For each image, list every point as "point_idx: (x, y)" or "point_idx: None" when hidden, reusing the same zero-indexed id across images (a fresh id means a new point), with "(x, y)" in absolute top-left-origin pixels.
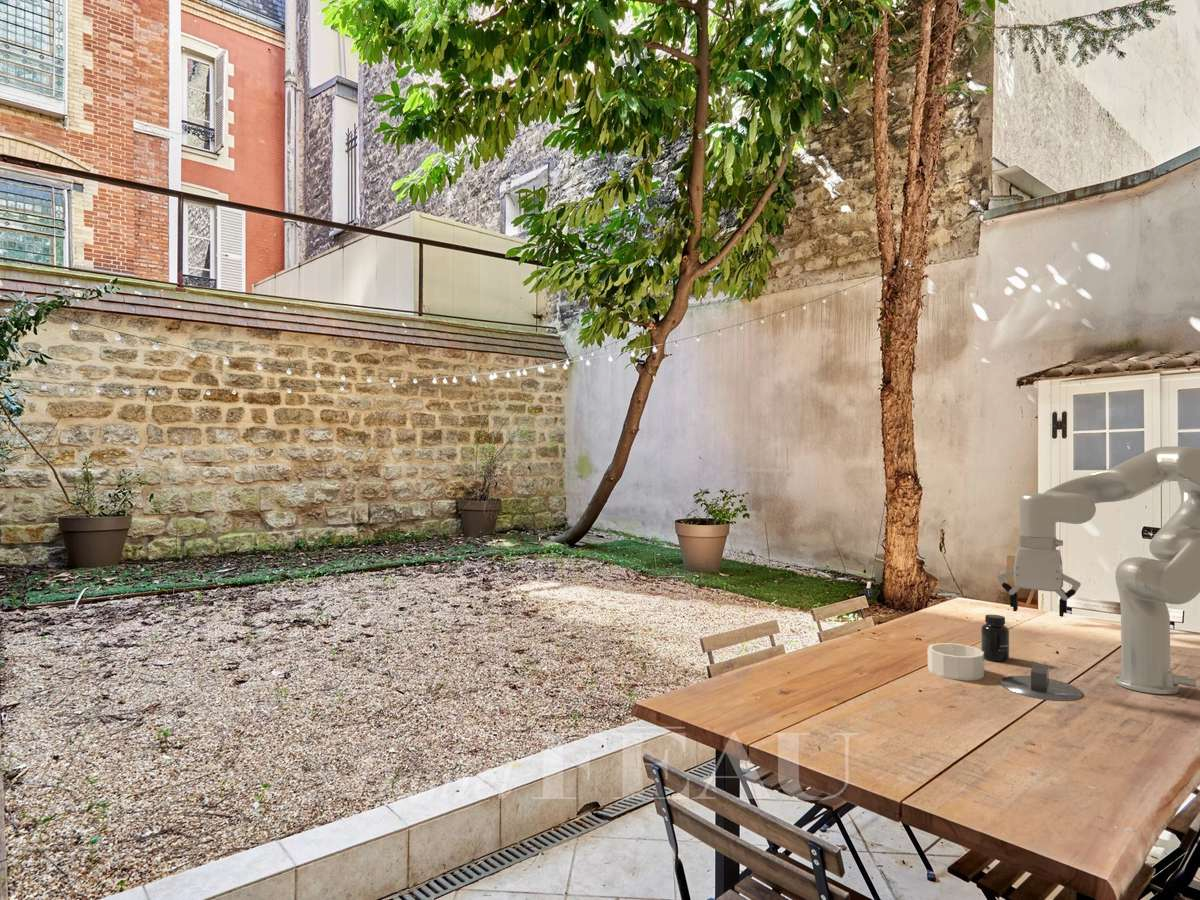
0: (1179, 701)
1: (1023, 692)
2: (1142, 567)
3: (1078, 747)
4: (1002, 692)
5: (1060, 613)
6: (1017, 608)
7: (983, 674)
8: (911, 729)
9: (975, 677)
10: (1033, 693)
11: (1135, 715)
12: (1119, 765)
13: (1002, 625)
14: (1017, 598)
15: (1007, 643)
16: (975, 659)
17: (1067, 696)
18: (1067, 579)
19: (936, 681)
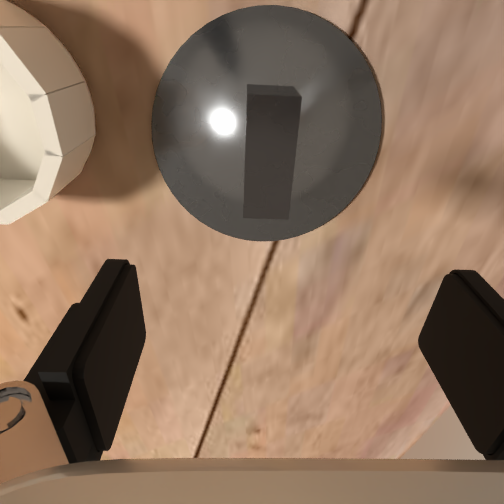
0: None
1: (226, 222)
2: None
3: (315, 417)
4: (179, 235)
5: (431, 361)
6: (135, 287)
7: (90, 112)
8: (105, 452)
9: (83, 164)
10: (250, 218)
11: (461, 245)
12: (356, 439)
13: None
14: (105, 353)
15: None
16: (56, 187)
17: (333, 197)
18: None
19: (11, 233)
